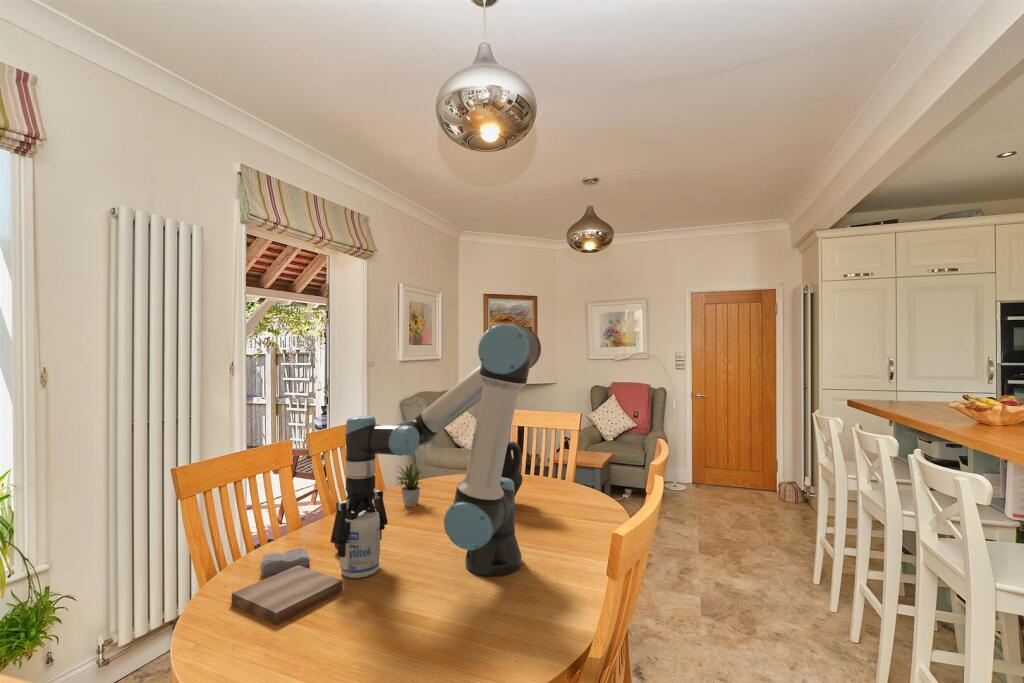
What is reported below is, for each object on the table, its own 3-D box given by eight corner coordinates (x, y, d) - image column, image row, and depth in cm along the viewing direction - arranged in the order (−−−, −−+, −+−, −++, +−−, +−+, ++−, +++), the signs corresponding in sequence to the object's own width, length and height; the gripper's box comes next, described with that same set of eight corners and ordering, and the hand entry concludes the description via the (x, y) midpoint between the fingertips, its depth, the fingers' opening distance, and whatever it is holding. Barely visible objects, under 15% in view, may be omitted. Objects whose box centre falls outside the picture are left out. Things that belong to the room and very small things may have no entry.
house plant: (389, 500, 188) (389, 458, 189) (424, 496, 193) (424, 456, 193) (391, 511, 175) (391, 466, 175) (429, 507, 179) (429, 463, 180)
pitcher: (491, 495, 193) (490, 433, 194) (536, 505, 180) (535, 438, 181) (457, 509, 176) (456, 441, 177) (504, 520, 164) (503, 447, 164)
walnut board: (342, 590, 115) (342, 580, 115) (276, 624, 100) (276, 612, 101) (298, 574, 124) (298, 565, 124) (231, 604, 109) (231, 593, 109)
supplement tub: (342, 582, 119) (342, 523, 120) (340, 567, 128) (340, 512, 128) (382, 575, 123) (382, 517, 123) (377, 561, 132) (377, 507, 132)
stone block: (259, 571, 130) (259, 578, 122) (260, 552, 131) (260, 558, 123) (307, 564, 136) (310, 570, 127) (307, 546, 137) (310, 551, 128)
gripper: (382, 465, 138) (382, 544, 137) (314, 483, 119) (314, 574, 118) (401, 468, 134) (401, 549, 133) (334, 487, 115) (334, 581, 114)
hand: (360, 561), depth 125 cm, fingers closed on supplement tub, 10 cm apart
